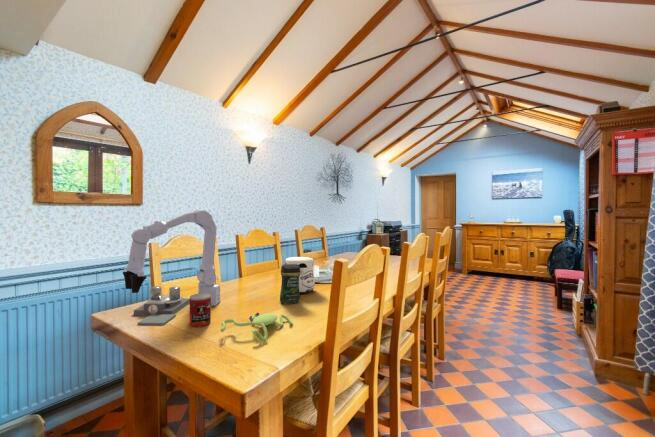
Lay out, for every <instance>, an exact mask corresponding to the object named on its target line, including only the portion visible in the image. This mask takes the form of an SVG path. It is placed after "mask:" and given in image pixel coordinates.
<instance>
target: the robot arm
mask: <svg viewBox="0 0 655 437" xmlns="http://www.w3.org/2000/svg"><path fill="white" fill-rule="evenodd" d="M185 223H194V224H196V225H198V226H199V227H201V229H202V230H204V235H203V236H204V238H203V246H202V260H201V264H200V267H199V271H198V272H197V274H196V278H197V280H198V281H199V282H198V285H197V286H198V289H197V290H198V291H197V292H198V293H197V294H199V293H207V294H210V295H211V307H215V306H217V305H218V304H219V303H220V302H221V287H220V284H216V281H217V275H216V269H215V268H216V267H215V265H214V264H215V263H214V262H215V261H214V260H215V252H216V251H215V250H216V242H217V241H216V240H217V231H218V230H217V225H216V223H215V221H214V219H213V215H212V214H210V212H208V211H206V210H194V211H188V212H186V213H183V214H181V215H179V216H176V217H174V218H172V219H169V220H168V221H166V222H165V221H162V220H160V221H158V220H155V221H154V223H152V224H149V225H147V226H146V225H144V226H142V228H138V229H134V231H133V232H132V233H131V235H130V236H131V239H132V242H131V246H130V251H129V255H128V263H127V265H126V267H124V268H123V271H122V275H123V278H124V283H125V284H124V285H125V289H126V290H131V293H132V294H138V293H139V291H140V289H141V287H142V285H143V283H144V281H145V280H146V279H147V278H148V277H147V276H146V275H145V269H144V266H145V260H146V256H147V248H148V247H147V246H148V242H149V241H150V240H153V239H155V238H157V237H160V236H163V235H165V234H167V233H168V230H169V229H172V228H174V227H178V226H180V225H182V224H185Z"/></svg>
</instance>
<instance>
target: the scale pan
mask: <svg viewBox="0 0 655 437" xmlns="http://www.w3.org/2000/svg"><path fill="white" fill-rule="evenodd" d="M182 298H183V296H182V295H181V294H180V299H178V300H169V294H161V299H158V300H151V299H150V298H148V299H147V302H166V304H171V303H175V302H178V301H180V300H182Z"/></svg>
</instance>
